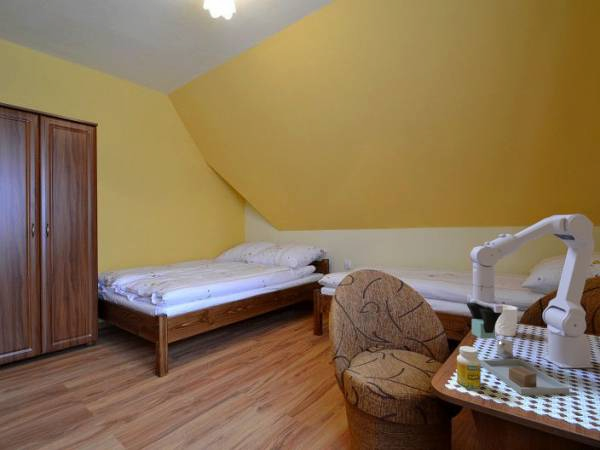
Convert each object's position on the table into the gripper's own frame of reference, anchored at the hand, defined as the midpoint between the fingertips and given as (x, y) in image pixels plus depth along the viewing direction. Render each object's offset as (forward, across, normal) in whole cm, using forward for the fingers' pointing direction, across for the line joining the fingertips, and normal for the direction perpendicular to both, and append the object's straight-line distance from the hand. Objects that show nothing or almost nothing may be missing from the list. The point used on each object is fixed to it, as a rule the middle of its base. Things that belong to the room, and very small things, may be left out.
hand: (483, 329), depth 96 cm
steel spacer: (+9, 0, +7) cm, 11 cm away
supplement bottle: (+9, +16, -14) cm, 23 cm away
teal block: (+2, 0, 0) cm, 2 cm away
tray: (+9, +13, +1) cm, 16 cm away
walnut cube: (+8, +18, -2) cm, 20 cm away
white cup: (+9, -21, +22) cm, 32 cm away
